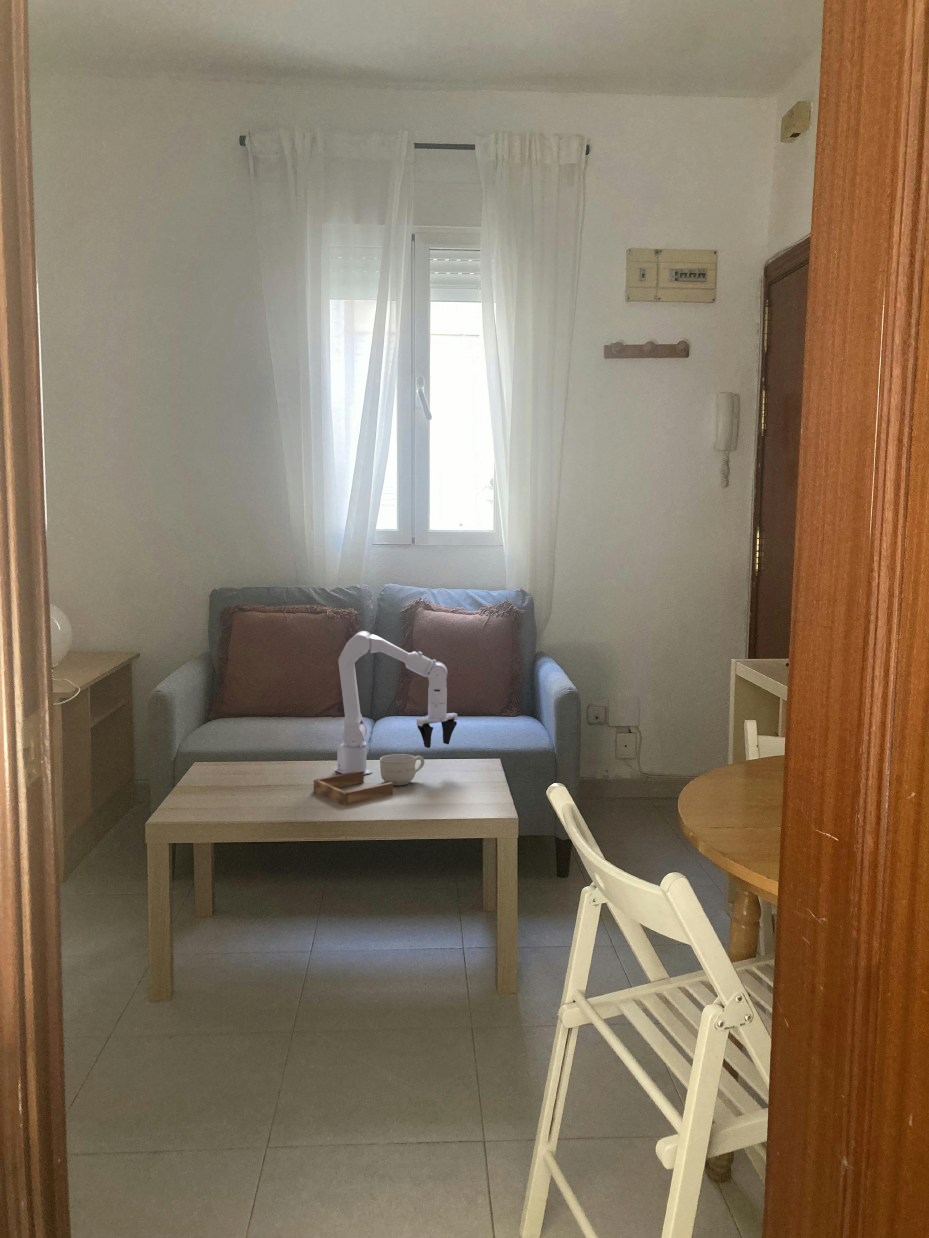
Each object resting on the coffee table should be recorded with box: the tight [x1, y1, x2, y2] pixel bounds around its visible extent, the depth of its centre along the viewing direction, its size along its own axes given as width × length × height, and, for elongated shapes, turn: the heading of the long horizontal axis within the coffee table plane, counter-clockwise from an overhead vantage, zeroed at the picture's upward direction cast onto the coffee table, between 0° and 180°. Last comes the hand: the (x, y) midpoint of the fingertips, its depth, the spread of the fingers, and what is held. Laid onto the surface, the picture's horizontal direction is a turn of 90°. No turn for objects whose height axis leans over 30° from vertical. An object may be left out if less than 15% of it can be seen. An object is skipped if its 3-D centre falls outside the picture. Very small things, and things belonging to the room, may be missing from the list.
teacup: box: [379, 753, 425, 786], centre depth 283 cm, size 14×11×8 cm
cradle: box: [313, 770, 394, 807], centre depth 272 cm, size 16×17×4 cm
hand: (436, 745), depth 291 cm, fingers open, 7 cm apart
